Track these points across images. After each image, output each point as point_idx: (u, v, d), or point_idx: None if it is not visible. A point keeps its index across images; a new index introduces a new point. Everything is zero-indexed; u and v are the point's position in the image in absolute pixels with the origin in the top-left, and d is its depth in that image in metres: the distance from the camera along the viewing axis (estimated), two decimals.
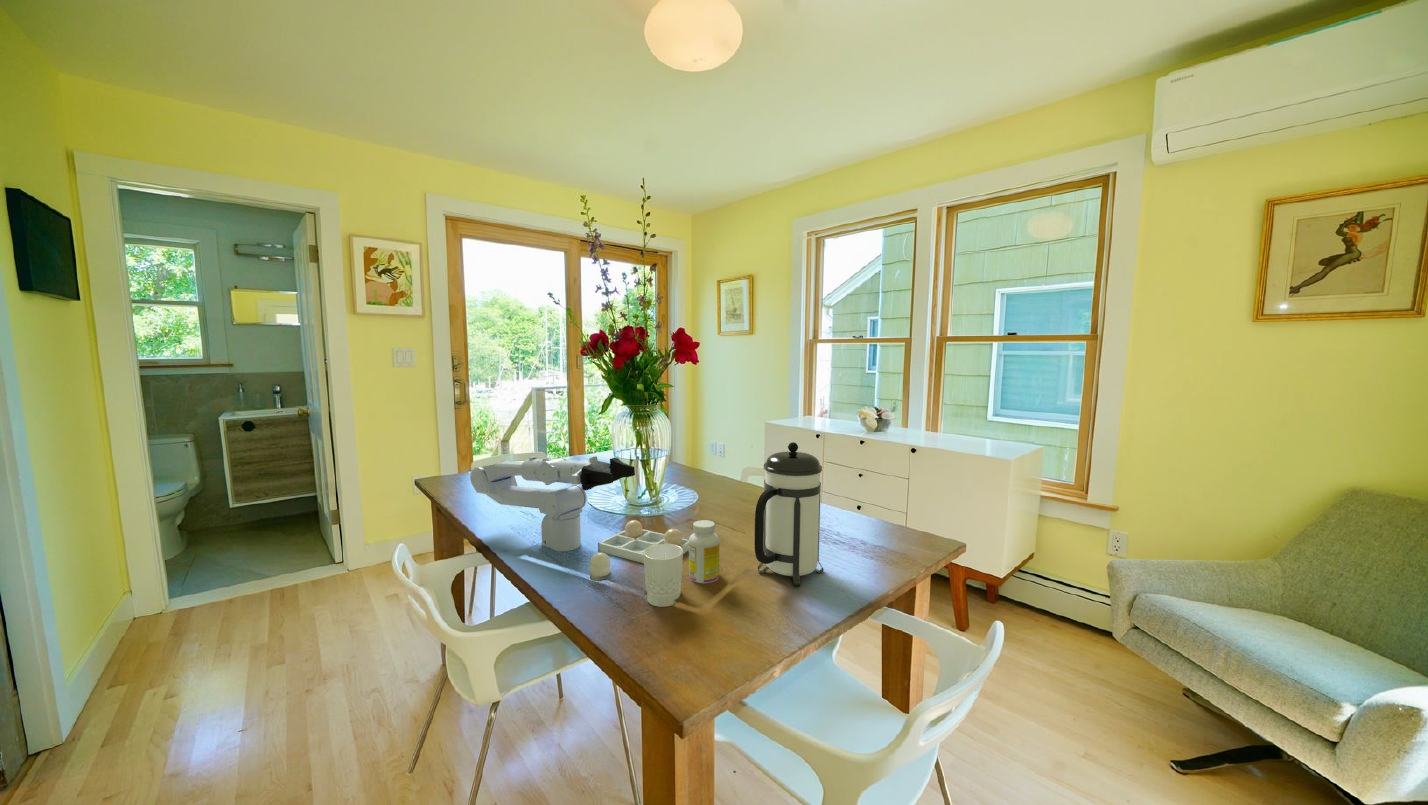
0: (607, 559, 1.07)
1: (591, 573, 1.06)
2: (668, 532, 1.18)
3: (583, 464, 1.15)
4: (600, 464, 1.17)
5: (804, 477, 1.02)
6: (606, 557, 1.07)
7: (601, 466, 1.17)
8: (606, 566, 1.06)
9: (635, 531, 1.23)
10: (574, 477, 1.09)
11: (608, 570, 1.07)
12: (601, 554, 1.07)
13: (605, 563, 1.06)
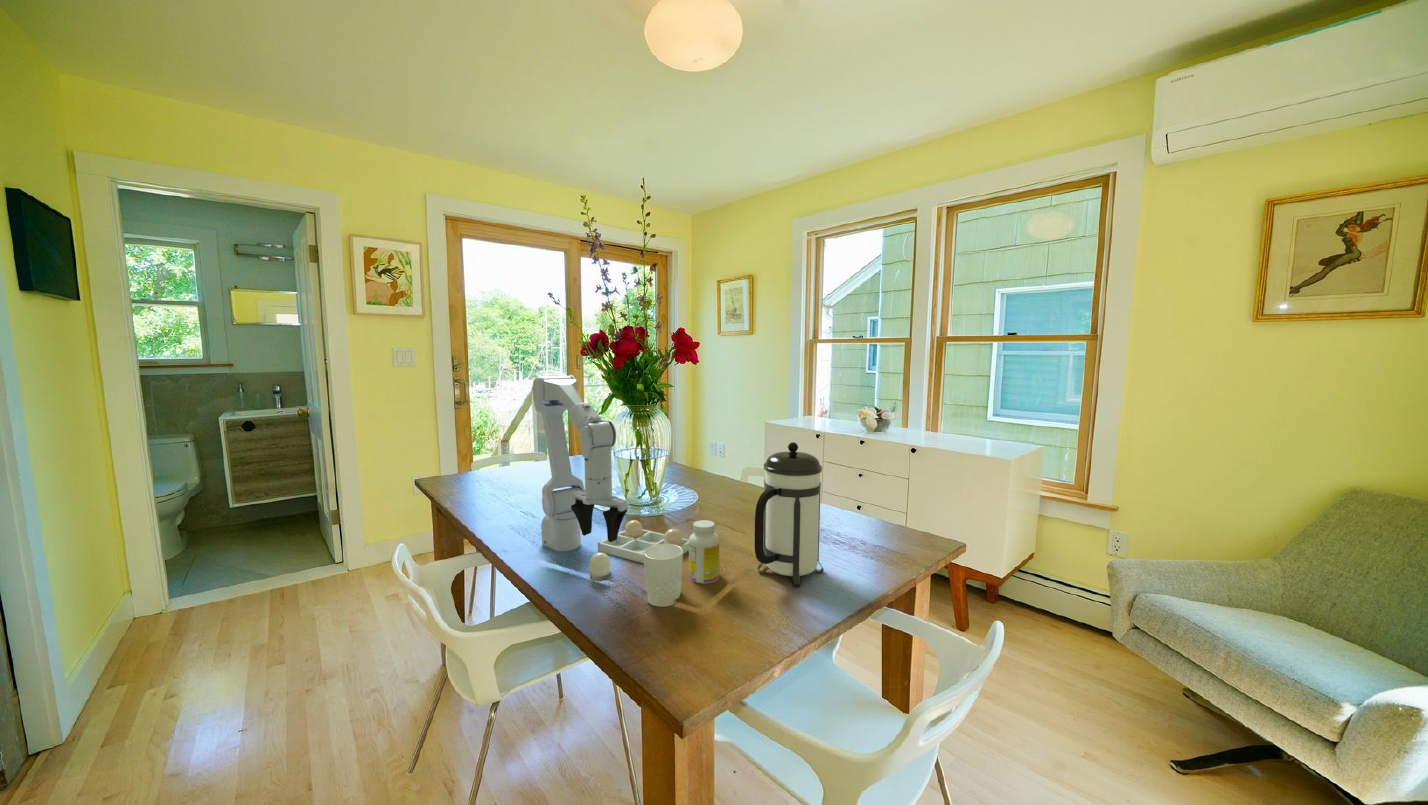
0: (607, 559, 1.07)
1: (591, 573, 1.06)
2: (668, 532, 1.18)
3: (585, 491, 1.04)
4: None
5: (804, 477, 1.02)
6: (606, 557, 1.07)
7: None
8: (606, 566, 1.06)
9: (635, 531, 1.23)
10: None
11: (608, 570, 1.07)
12: (601, 554, 1.07)
13: (605, 563, 1.06)
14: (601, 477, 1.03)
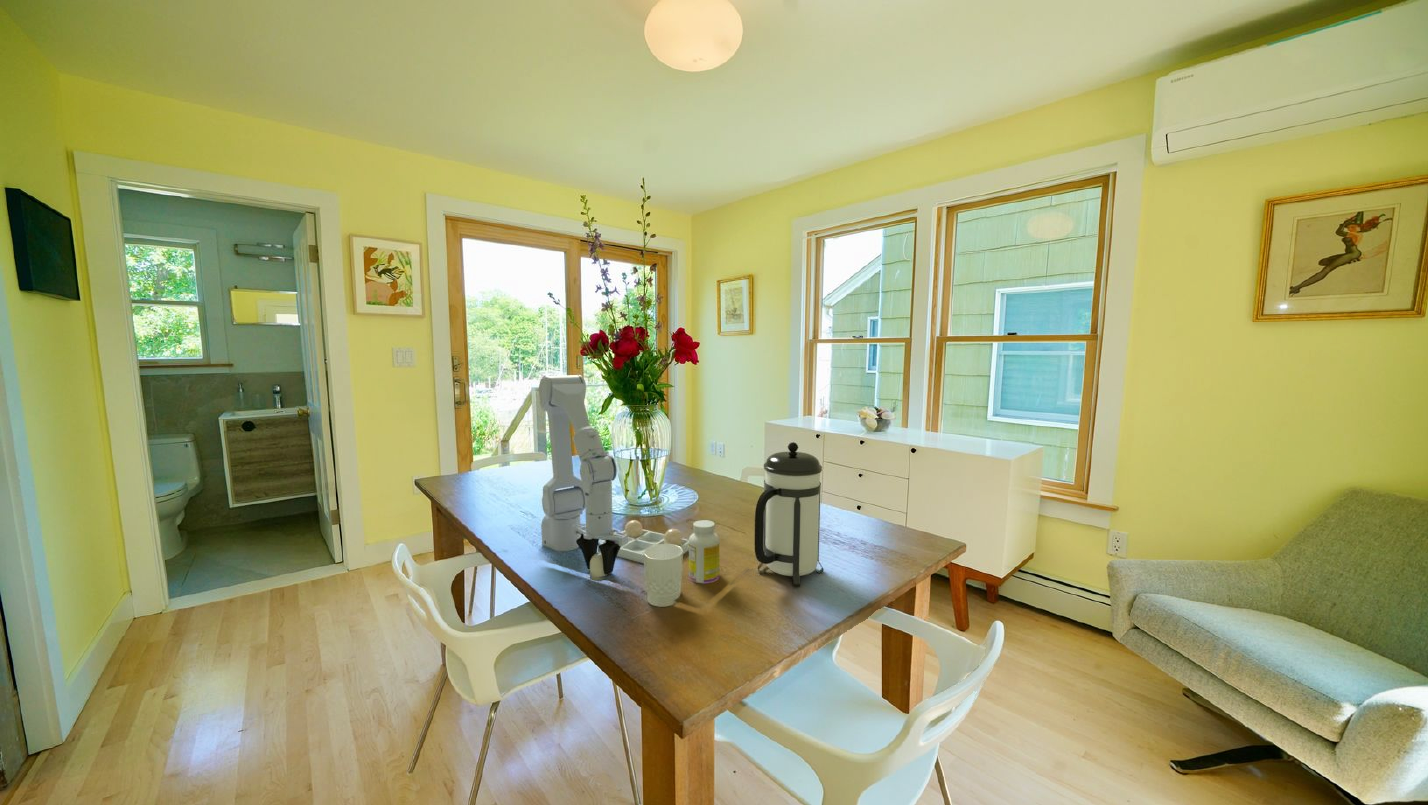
0: None
1: (591, 573, 1.06)
2: (668, 532, 1.18)
3: (586, 525, 1.05)
4: None
5: (804, 477, 1.02)
6: None
7: None
8: None
9: (635, 531, 1.23)
10: None
11: None
12: (601, 554, 1.07)
13: None
14: (602, 512, 1.04)
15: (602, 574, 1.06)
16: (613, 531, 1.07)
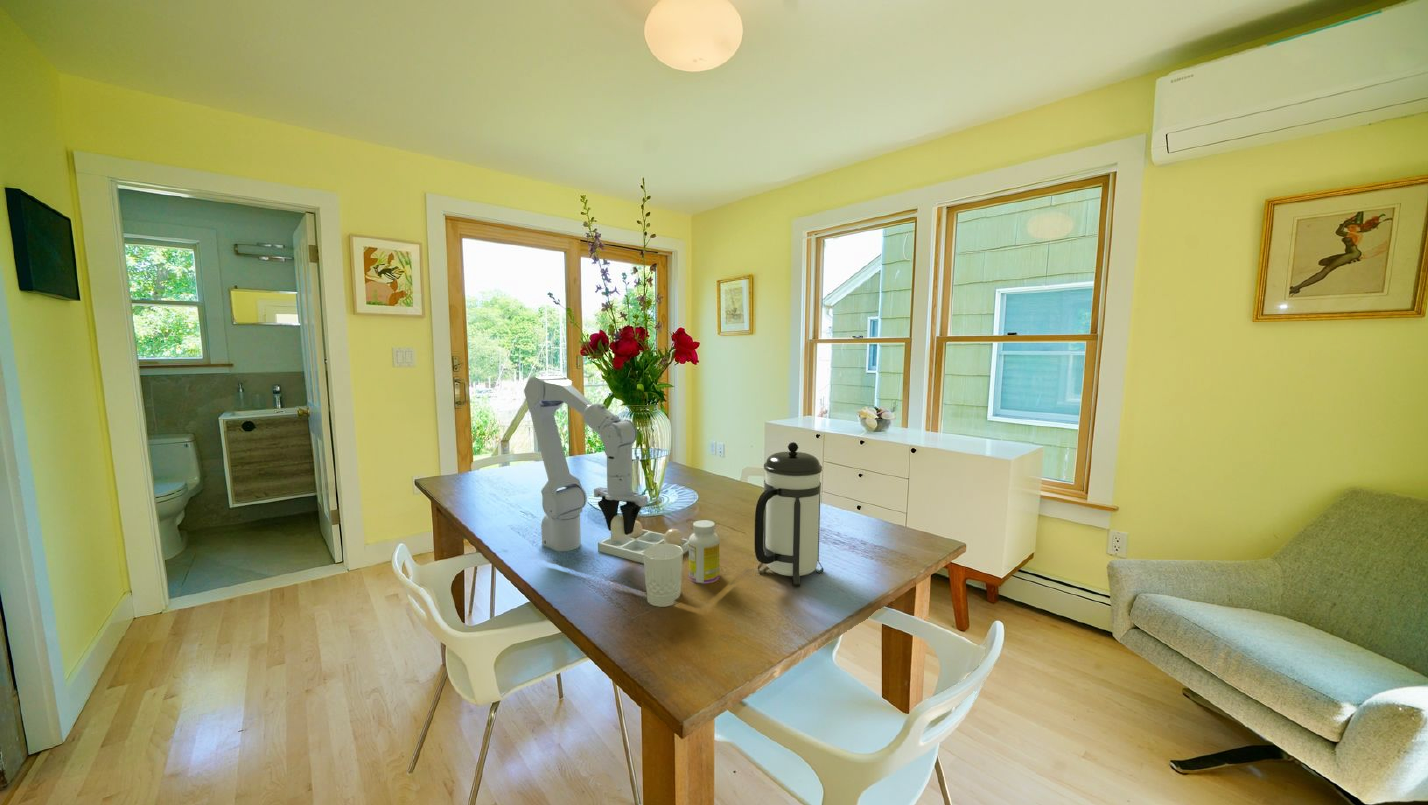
0: None
1: (612, 533, 1.11)
2: (668, 532, 1.18)
3: (607, 487, 1.10)
4: None
5: (804, 477, 1.02)
6: None
7: None
8: None
9: (635, 531, 1.23)
10: None
11: None
12: (621, 515, 1.11)
13: None
14: (627, 473, 1.09)
15: (622, 534, 1.10)
16: (633, 493, 1.11)
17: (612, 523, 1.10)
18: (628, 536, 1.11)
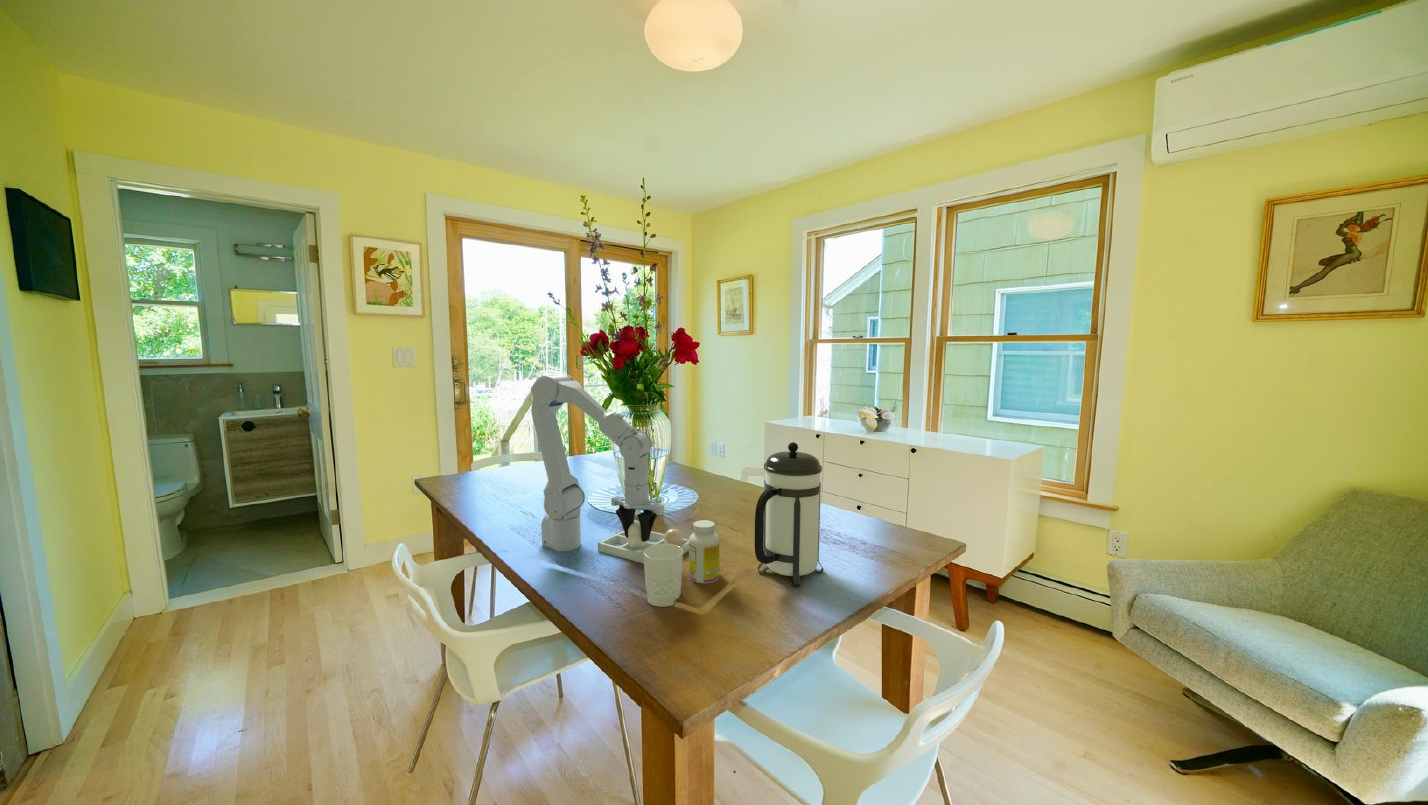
0: None
1: (630, 540, 1.15)
2: (668, 532, 1.18)
3: (625, 496, 1.15)
4: None
5: (804, 477, 1.02)
6: None
7: None
8: None
9: None
10: None
11: None
12: (638, 523, 1.16)
13: None
14: (646, 482, 1.14)
15: (640, 541, 1.15)
16: (649, 502, 1.16)
17: (630, 530, 1.15)
18: (645, 543, 1.16)
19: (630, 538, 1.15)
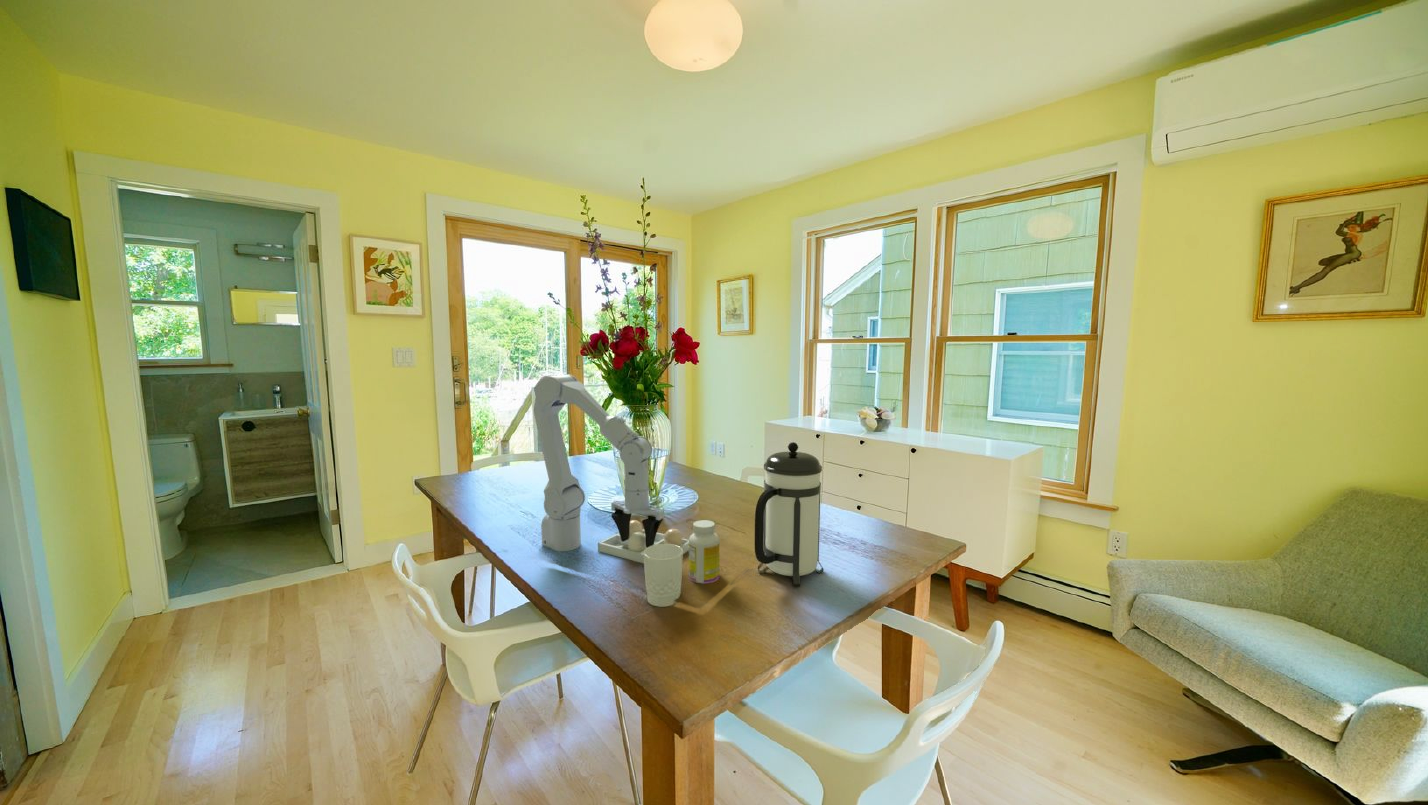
0: (644, 538, 1.16)
1: None
2: (668, 532, 1.18)
3: (625, 501, 1.15)
4: None
5: (804, 477, 1.02)
6: (643, 536, 1.16)
7: None
8: (644, 544, 1.16)
9: (635, 531, 1.23)
10: None
11: (645, 548, 1.16)
12: (638, 533, 1.16)
13: (642, 541, 1.16)
14: (646, 487, 1.14)
15: (640, 551, 1.15)
16: (649, 507, 1.16)
17: (630, 541, 1.16)
18: None
19: (630, 548, 1.16)
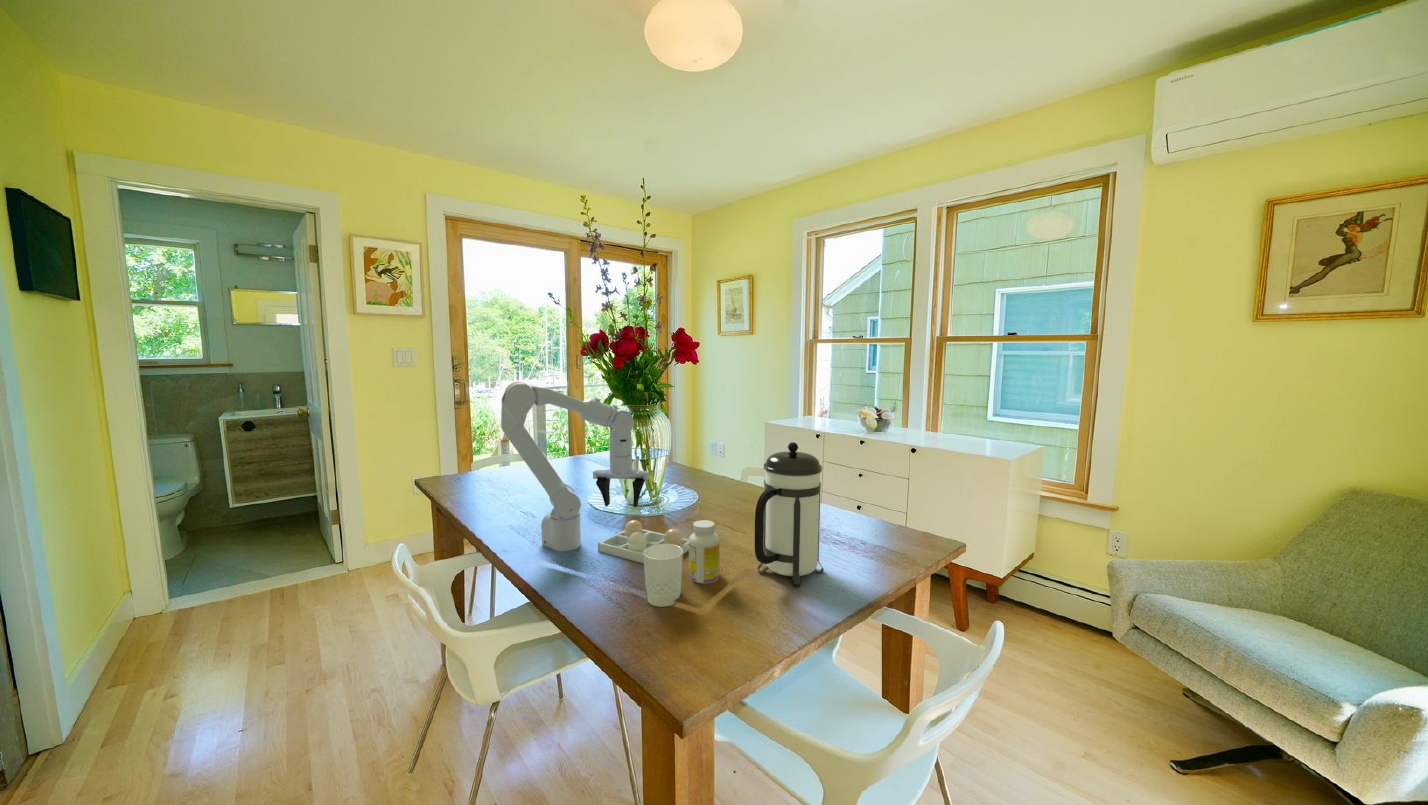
0: (644, 538, 1.16)
1: None
2: (668, 532, 1.18)
3: (612, 468, 1.25)
4: None
5: (804, 477, 1.02)
6: (643, 536, 1.16)
7: None
8: (644, 544, 1.16)
9: (635, 531, 1.23)
10: None
11: (645, 548, 1.16)
12: (638, 533, 1.16)
13: (642, 541, 1.16)
14: (631, 452, 1.27)
15: (640, 551, 1.15)
16: (632, 471, 1.28)
17: (630, 541, 1.16)
18: None
19: (630, 548, 1.16)
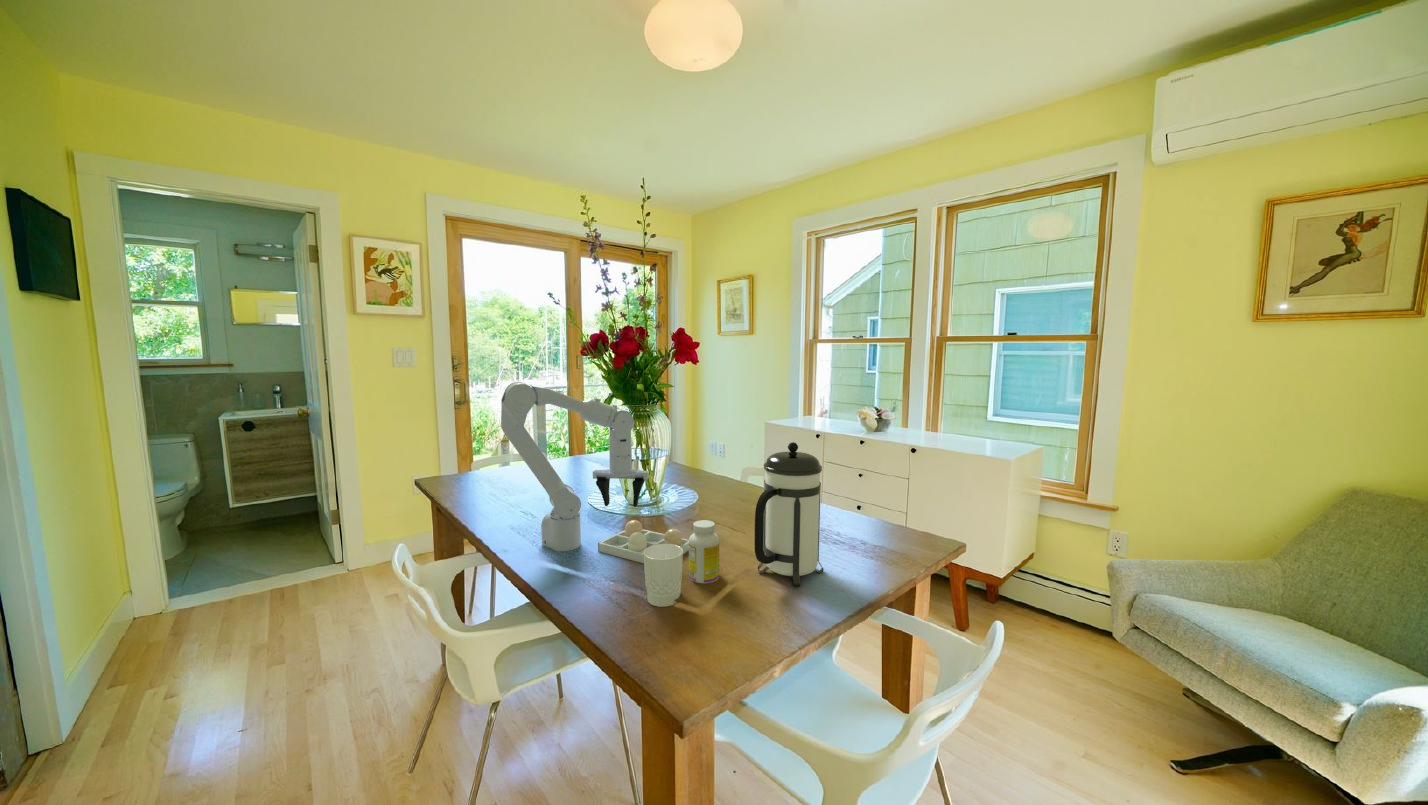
0: (644, 538, 1.16)
1: None
2: (668, 532, 1.18)
3: (612, 467, 1.25)
4: None
5: (804, 477, 1.02)
6: (643, 536, 1.16)
7: None
8: (644, 544, 1.16)
9: (635, 531, 1.23)
10: None
11: (645, 548, 1.16)
12: (638, 533, 1.16)
13: (642, 541, 1.16)
14: (631, 452, 1.27)
15: (640, 551, 1.15)
16: (632, 471, 1.29)
17: (630, 541, 1.16)
18: None
19: (630, 548, 1.16)
